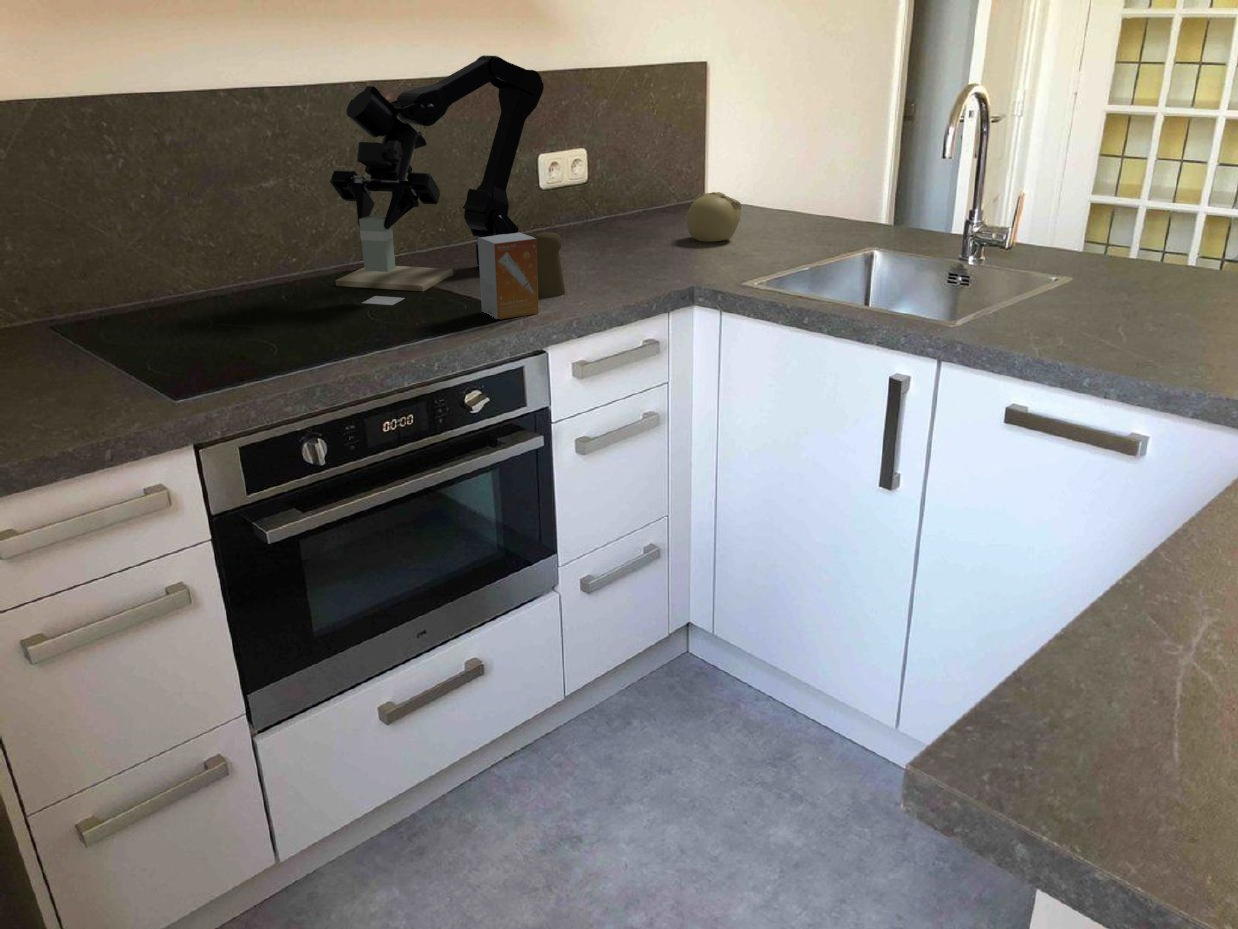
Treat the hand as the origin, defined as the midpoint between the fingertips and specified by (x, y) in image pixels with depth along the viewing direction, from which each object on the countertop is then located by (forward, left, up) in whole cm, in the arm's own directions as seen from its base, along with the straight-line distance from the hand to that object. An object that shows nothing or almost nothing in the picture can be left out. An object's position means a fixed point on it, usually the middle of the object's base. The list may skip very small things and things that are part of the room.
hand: (373, 227), depth 172 cm
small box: (-25, +1, -14) cm, 29 cm away
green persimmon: (-48, -69, -14) cm, 85 cm away
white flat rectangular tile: (0, -1, -13) cm, 13 cm away
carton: (0, -1, -8) cm, 8 cm away
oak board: (+5, -16, -13) cm, 21 cm away
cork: (-27, -14, -14) cm, 33 cm away
